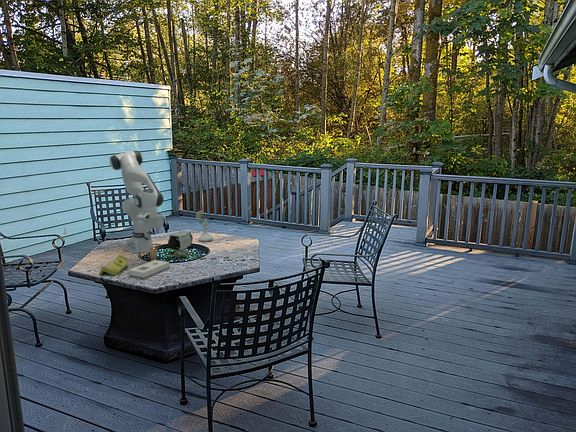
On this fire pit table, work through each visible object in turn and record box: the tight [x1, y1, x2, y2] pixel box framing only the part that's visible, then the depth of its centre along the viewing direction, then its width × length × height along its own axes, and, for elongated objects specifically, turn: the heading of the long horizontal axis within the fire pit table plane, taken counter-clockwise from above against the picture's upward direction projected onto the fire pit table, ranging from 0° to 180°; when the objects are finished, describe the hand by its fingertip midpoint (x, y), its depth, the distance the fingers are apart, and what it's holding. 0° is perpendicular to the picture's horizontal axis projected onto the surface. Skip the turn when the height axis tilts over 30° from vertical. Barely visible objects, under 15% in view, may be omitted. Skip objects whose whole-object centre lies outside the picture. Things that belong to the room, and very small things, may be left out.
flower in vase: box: [195, 209, 214, 242], centre depth 335 cm, size 13×11×25 cm
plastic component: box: [98, 254, 129, 276], centre depth 269 cm, size 20×7×10 cm
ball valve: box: [167, 230, 194, 258], centre depth 296 cm, size 18×8×18 cm, turn 154°
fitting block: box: [128, 259, 170, 280], centre depth 265 cm, size 22×12×4 cm, turn 153°
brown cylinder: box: [149, 246, 158, 262], centre depth 284 cm, size 4×4×10 cm
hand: (151, 235), depth 281 cm, fingers open, 8 cm apart
